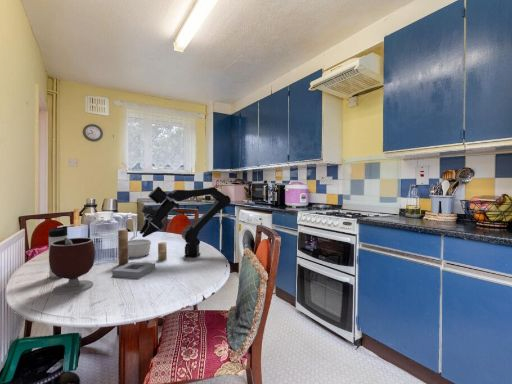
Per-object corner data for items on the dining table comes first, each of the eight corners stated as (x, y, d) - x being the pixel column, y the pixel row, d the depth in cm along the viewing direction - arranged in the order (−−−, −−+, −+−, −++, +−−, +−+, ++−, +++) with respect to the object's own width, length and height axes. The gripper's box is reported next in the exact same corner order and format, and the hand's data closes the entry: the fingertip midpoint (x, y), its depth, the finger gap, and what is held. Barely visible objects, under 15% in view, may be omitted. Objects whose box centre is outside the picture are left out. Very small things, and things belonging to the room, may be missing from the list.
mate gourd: (56, 283, 105) (55, 231, 104) (98, 279, 110) (97, 229, 109) (42, 300, 90) (40, 239, 90) (90, 294, 95) (89, 236, 95)
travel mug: (73, 274, 115) (71, 226, 114) (57, 279, 109) (55, 229, 108) (62, 272, 117) (61, 225, 116) (45, 278, 111) (44, 228, 110)
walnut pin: (130, 263, 130) (129, 229, 130) (124, 266, 126) (124, 231, 126) (122, 263, 131) (122, 229, 130) (116, 265, 127) (116, 230, 126)
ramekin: (155, 251, 152) (155, 239, 152) (143, 258, 139) (143, 244, 139) (132, 251, 153) (132, 238, 153) (118, 257, 140) (118, 244, 140)
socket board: (155, 269, 122) (155, 263, 122) (138, 278, 111) (138, 272, 111) (130, 267, 125) (130, 261, 125) (112, 276, 113) (112, 270, 113)
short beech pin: (168, 258, 140) (167, 242, 139) (164, 260, 136) (163, 244, 135) (160, 257, 140) (160, 242, 140) (156, 259, 137) (156, 243, 136)
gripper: (148, 198, 142) (126, 221, 137) (154, 200, 126) (129, 227, 121) (165, 212, 146) (143, 235, 141) (173, 216, 130) (149, 242, 125)
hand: (141, 235), depth 132 cm, fingers open, 9 cm apart
